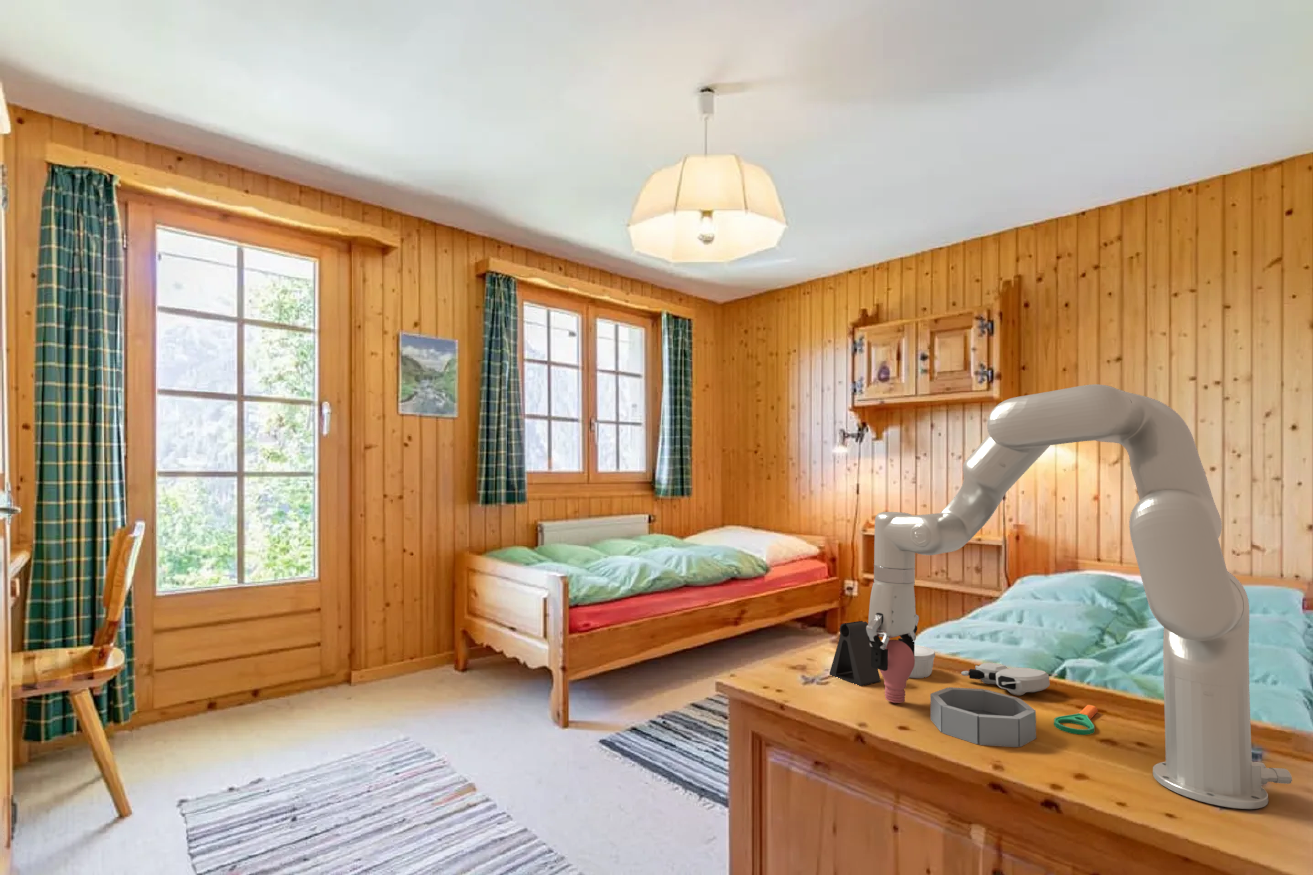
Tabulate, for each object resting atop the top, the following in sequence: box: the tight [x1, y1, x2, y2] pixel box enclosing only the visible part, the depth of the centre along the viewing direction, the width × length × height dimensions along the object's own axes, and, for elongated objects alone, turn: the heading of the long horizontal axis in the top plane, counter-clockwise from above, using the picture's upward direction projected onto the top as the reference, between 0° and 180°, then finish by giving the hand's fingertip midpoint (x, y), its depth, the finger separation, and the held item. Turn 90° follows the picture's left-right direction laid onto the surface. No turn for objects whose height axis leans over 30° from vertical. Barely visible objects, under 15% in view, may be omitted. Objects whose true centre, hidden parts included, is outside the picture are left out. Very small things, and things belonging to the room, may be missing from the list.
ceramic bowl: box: [930, 686, 1037, 748], centre depth 116 cm, size 15×15×4 cm
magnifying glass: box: [1053, 704, 1099, 736], centre depth 120 cm, size 15×6×2 cm, turn 134°
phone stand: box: [829, 620, 881, 687], centre depth 144 cm, size 9×6×12 cm, turn 31°
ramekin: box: [908, 644, 936, 679], centre depth 150 cm, size 11×11×5 cm
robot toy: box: [960, 662, 1058, 696], centre depth 140 cm, size 12×4×15 cm
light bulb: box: [879, 639, 915, 704], centre depth 129 cm, size 7×7×12 cm
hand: (893, 664), depth 129 cm, fingers open, 9 cm apart
